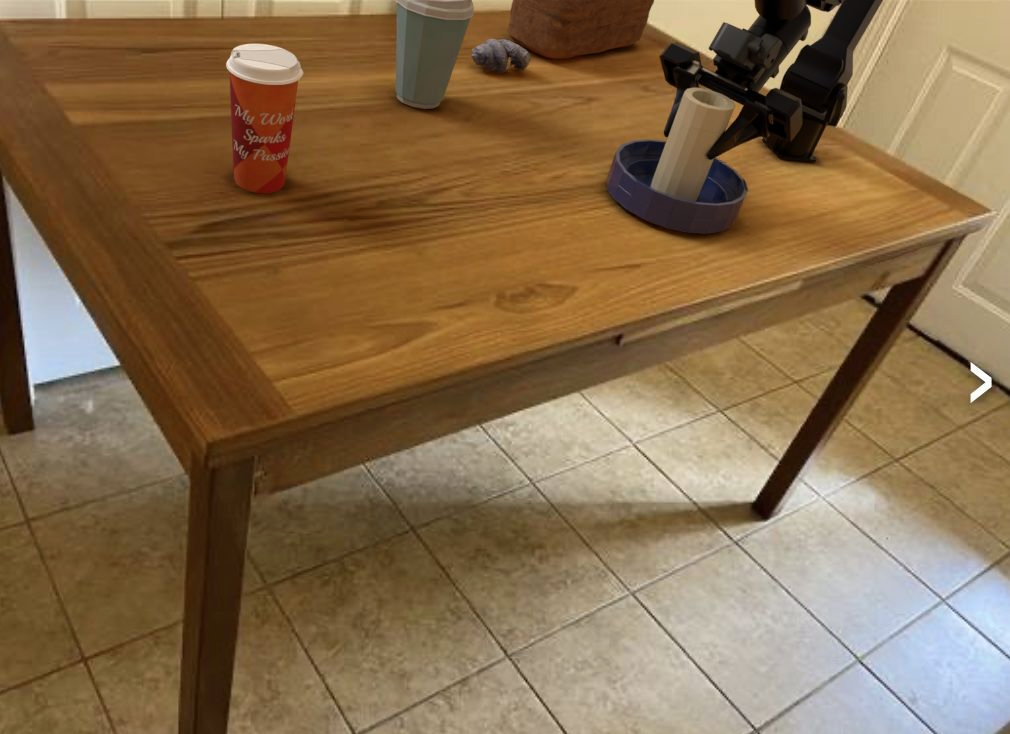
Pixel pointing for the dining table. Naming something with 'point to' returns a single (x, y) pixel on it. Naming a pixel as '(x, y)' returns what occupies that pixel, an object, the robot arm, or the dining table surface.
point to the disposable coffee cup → (428, 48)
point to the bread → (577, 25)
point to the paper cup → (262, 114)
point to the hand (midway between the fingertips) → (686, 146)
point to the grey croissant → (500, 55)
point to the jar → (692, 143)
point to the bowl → (637, 196)
